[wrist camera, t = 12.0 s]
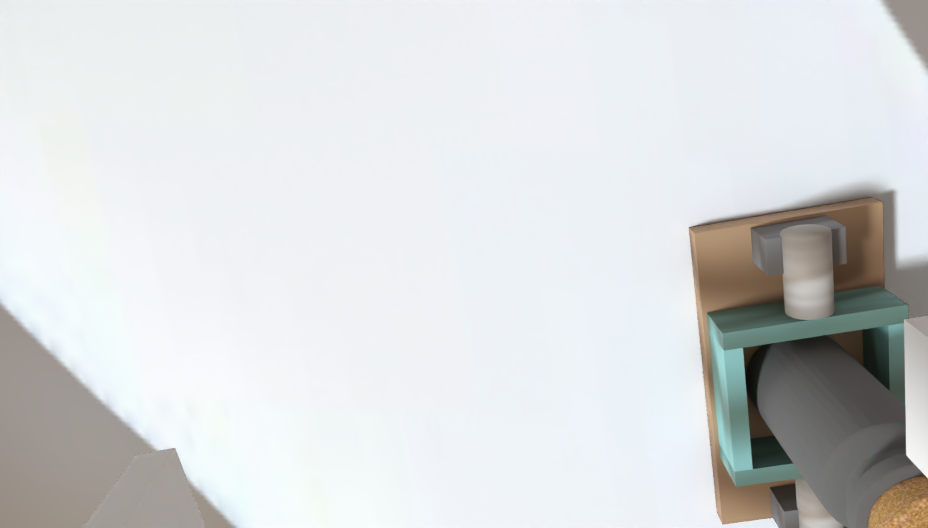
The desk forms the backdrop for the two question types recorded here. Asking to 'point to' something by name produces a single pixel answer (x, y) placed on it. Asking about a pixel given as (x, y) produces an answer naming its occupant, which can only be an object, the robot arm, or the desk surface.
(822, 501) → the bottle
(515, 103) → the desk surface
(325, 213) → the desk surface
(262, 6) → the desk surface
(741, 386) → the block
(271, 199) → the desk surface
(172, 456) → the robot arm
